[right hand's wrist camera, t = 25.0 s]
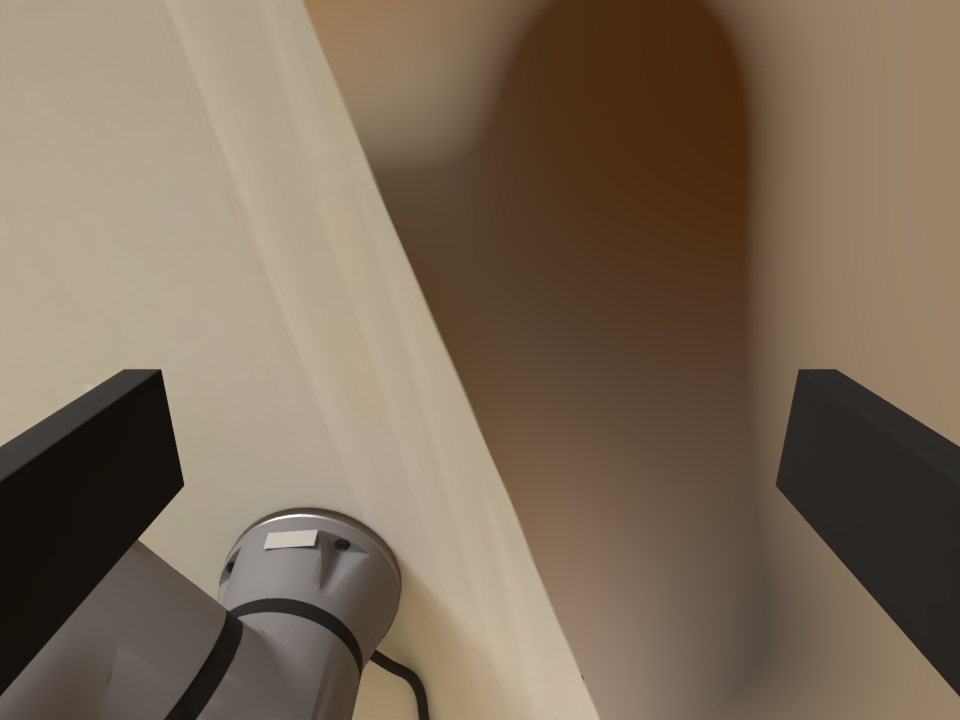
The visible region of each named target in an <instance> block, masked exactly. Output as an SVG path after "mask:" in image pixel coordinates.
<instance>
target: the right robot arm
mask: <svg viewBox="0 0 960 720" xmlns="http://www.w3.org/2000/svg"><path fill="white" fill-rule="evenodd" d="M183 486H184V481H183V476H182V471H181V466H180V461H179V456H178V451H177V446H176V441H175V436H174V431H173V426H172V421H171V416H170V411H169V406H168V401H167V396H166V391H165V386H164V381H163V376H162V371H161V369H124V370H122V371H121V372H119V373H117V374H116V375H114V376H113V377H111V378H109V379H108V380H106V381H105V382H103V383H101V384H100V385H98V386H97V387H95V388H93V389H92V390H90V391H89V392H87V393H86V394H84V395H82V396H81V397H79V398H78V399H76V400H74V401H73V402H71V403H70V404H68V405H66V406H65V407H63V408H62V409H60V410H58V411H57V412H55V413H54V414H52V415H50V416H49V417H47V418H46V419H44V420H43V421H41V422H39V423H38V424H36V425H35V426H33V427H31V428H30V429H28V430H27V431H25V432H23V433H22V434H20V435H19V436H17V437H15V438H14V439H12V440H11V441H9V442H7V443H6V444H4V445H3V446H1V447H0V720H352V716H353V712H354V707H355V702H356V698H357V693H358V688H359V683H360V679H361V675H362V671H363V669H364V667H365V666H366V664H367V662H368V661H369V659H370V660H371V661H373V662H375V663H376V664H378V665H379V666H381V667H382V668H384V669H386V670H387V671H389V672H391V673H393V674H395V675H397V676H400V677H402V678H403V679H405V680H406V681H407V682H408V683H409V684H410V685H411V687H412V688H413V690H414V693H415V695H416V699H417V704H418V712H419V720H429V715H428V706H427V698H426V693H425V690H424V687H423V685H422V683H421V681H420V679H419V678H418V676H417V675H416V674H415V673H414V672H413V671H411V670H410V669H408V668H407V667H405V666H403V665H401V664H399V663H397V662H395V661H393V660H391V659H390V658H388V657H386V656H385V655H383V654H382V653H380V652H379V651H377V650H376V648H377V646H378V644H379V643H380V642H381V640H382V639H383V638H384V636H385V635H386V634H387V632H388V631H389V629H390V627H391V625H392V623H393V621H394V618H395V616H396V613H397V610H398V605H399V600H400V594H401V575H400V570H399V567H398V563H397V561H396V559H395V557H394V555H393V553H392V551H391V550H390V548H389V547H388V546H387V544H386V543H385V542H384V541H383V540H382V538H381V537H379V536H378V535H377V534H376V533H375V532H374V531H373V530H371V529H370V528H369V527H367V526H366V525H364V524H363V523H361V522H359V521H357V520H356V519H354V518H351V517H349V516H347V515H344V514H341V513H338V512H335V511H331V510H326V509H319V508H294V509H288V510H283V511H279V512H276V513H273V514H270V515H268V516H266V517H264V518H262V519H260V520H258V521H257V522H255V523H254V524H252V525H251V526H250V527H249V528H248V529H247V530H246V531H245V532H244V533H243V534H242V535H241V536H240V537H239V539H238V540H237V542H236V543H235V545H234V547H233V548H232V550H231V552H230V553H229V555H228V557H227V559H226V562H225V565H224V567H223V570H222V573H221V578H220V585H219V592H218V600H217V601H216V600H214V599H213V598H212V597H210V596H209V595H208V594H207V593H205V592H204V591H203V590H201V589H200V588H199V587H197V586H196V585H195V584H193V583H192V582H191V581H190V580H188V579H187V578H186V577H184V576H183V575H182V574H180V573H179V572H178V571H177V570H175V569H174V568H173V567H171V566H170V565H169V564H168V563H166V562H165V561H164V560H163V559H161V558H160V557H159V556H158V555H156V554H155V553H154V552H153V551H151V550H150V549H149V548H148V547H146V546H145V545H144V544H143V543H141V542H140V541H139V540H138V538H139V537H140V536H141V535H142V533H143V532H144V531H145V530H146V529H147V528H148V527H149V525H150V524H151V523H152V522H153V521H154V520H155V519H156V517H157V516H158V515H159V514H160V513H161V512H162V510H163V509H164V508H165V507H166V506H167V505H168V504H169V502H170V501H171V500H172V499H173V498H174V497H175V496H176V494H177V493H178V492H179V491H180V490H181V489H182V488H183ZM776 486H777V487H778V489H779V490H780V491H781V492H782V493H783V494H784V496H785V497H786V498H787V499H788V500H789V501H790V502H791V504H792V505H793V506H794V507H795V508H796V509H797V510H798V512H799V513H800V514H801V515H802V516H803V517H804V519H805V520H806V521H807V522H808V523H809V524H810V525H811V527H812V528H813V529H814V530H815V531H816V532H817V533H818V535H819V536H820V537H821V538H822V539H823V540H824V541H825V543H826V544H827V545H828V546H829V547H830V548H831V549H832V551H833V552H834V553H835V554H836V555H837V556H838V558H839V559H840V560H841V561H842V562H843V563H844V564H845V566H846V567H847V568H848V569H849V570H850V571H851V572H852V574H853V575H854V576H855V577H856V578H857V579H858V581H859V582H860V583H861V584H862V585H863V586H864V587H865V589H866V590H867V591H868V592H869V593H870V594H871V595H872V597H873V598H874V599H875V600H876V601H877V602H878V603H879V605H880V606H881V607H882V608H883V609H884V610H885V612H886V613H887V614H888V615H889V616H890V617H891V618H892V620H893V621H894V622H895V623H896V624H897V625H898V626H899V627H900V629H901V630H902V631H903V632H904V633H905V634H906V636H907V637H908V638H909V639H910V640H911V641H912V643H913V644H914V645H915V646H916V647H917V648H918V649H919V651H920V652H921V653H922V654H923V655H924V656H925V657H926V659H927V660H928V661H929V662H930V663H931V664H932V665H933V667H934V668H935V669H936V670H937V671H938V672H939V673H940V675H941V676H942V677H943V678H944V679H945V680H946V681H947V683H948V684H949V685H950V686H951V687H952V688H953V690H954V691H955V692H956V693H957V694H958V695H959V696H960V447H959V446H957V445H956V444H954V443H953V442H951V441H949V440H948V439H946V438H945V437H943V436H941V435H940V434H938V433H937V432H935V431H933V430H932V429H930V428H929V427H927V426H925V425H924V424H922V423H921V422H919V421H917V420H916V419H914V418H913V417H911V416H910V415H908V414H906V413H905V412H903V411H902V410H900V409H898V408H897V407H895V406H894V405H892V404H890V403H889V402H887V401H886V400H884V399H882V398H881V397H879V396H878V395H876V394H874V393H873V392H871V391H870V390H868V389H866V388H865V387H863V386H862V385H860V384H859V383H857V382H855V381H854V380H852V379H850V378H849V377H847V376H846V375H844V374H843V373H841V372H839V371H838V370H836V369H799V371H798V376H797V381H796V386H795V391H794V396H793V401H792V406H791V411H790V416H789V421H788V426H787V431H786V436H785V441H784V446H783V451H782V456H781V461H780V466H779V471H778V476H777V481H776ZM581 676H582V679H583V681H584V678H583V675H581Z"/></svg>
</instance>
